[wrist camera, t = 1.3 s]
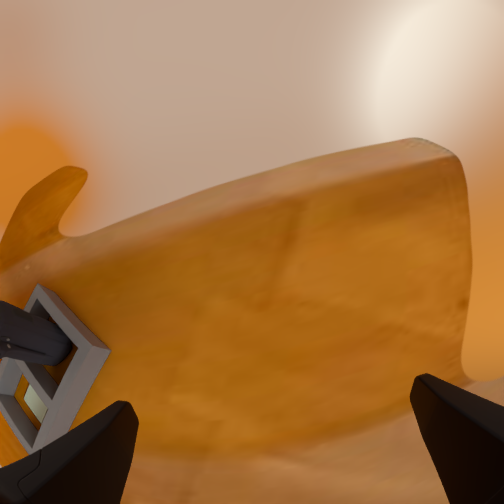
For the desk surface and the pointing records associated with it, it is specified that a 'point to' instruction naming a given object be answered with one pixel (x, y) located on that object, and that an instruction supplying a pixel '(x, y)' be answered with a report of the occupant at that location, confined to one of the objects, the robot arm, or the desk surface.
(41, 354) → the two-way radio
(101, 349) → the charging station
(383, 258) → the desk surface
